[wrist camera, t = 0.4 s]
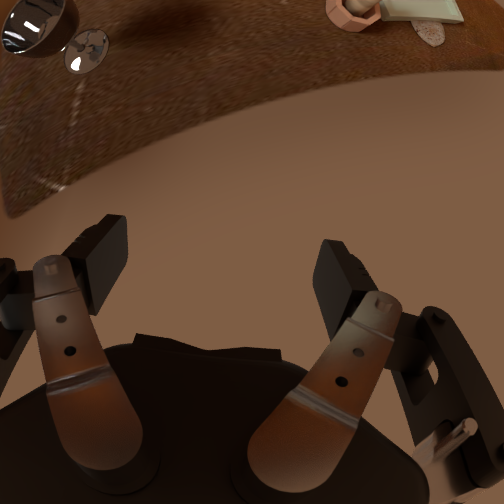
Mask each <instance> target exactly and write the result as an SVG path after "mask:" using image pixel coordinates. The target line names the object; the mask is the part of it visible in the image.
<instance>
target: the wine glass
mask: <svg viewBox="0 0 504 504" xmlns="http://www.w3.org/2000/svg"><path fill="white" fill-rule="evenodd" d="M79 23H80V17H79V11H78V9H77V6H76V4H75V2H74V1H73V0H19V1H18V2H17V3H16V4H15V6H14V7H13V8H12V9H11V11H10V12H9V14H8V16H7V18H6V20H5V22H4V24H3V27H2V32H1V43H2V46H3V48H4V49H5V50H6V51H8V52H10V53H12V54H15V55H18V56H22V57H28V58H45V57H49V56H52V55H55V54H57V53H58V52H60V51H61V50H63V49H64V48H65V47H66V46H67V45H68V46H67V48H66V50H65V53H64V65H65V67H66V69H67V70H68V71H69V72H71V73H73V74H84V73H87V72H90V71H91V70H93V69H94V68H96V67H97V66H98V65H99V64H100V63H101V62H102V61H103V59H104V58H105V56H106V54H107V51H108V47H109V40H108V37H107V35H106V34H105V33H104V32H103V31H102V30H99V29H88V30H85V31H83V32H81V33H79V34H78V35H76V36H75V34H76V32H77V30H78V27H79ZM74 36H75V37H74Z"/></svg>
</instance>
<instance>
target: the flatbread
mask: <svg viewBox="0 0 504 504" xmlns="http://www.w3.org/2000/svg"><path fill="white" fill-rule="evenodd" d="M410 21H411V23H412V26H413V28H414V29H415V31H416V32H417V34H418V35H419V36H420V37H421V38H422V39H423V40H424V41H425V42H427V43H428V44H429V45H431V46H433V47H436V46H438V45H441V44H442V43H443V42H444V41H445V32H444V28H443V26H442V24H441V22H439V21H426V20H410Z"/></svg>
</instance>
